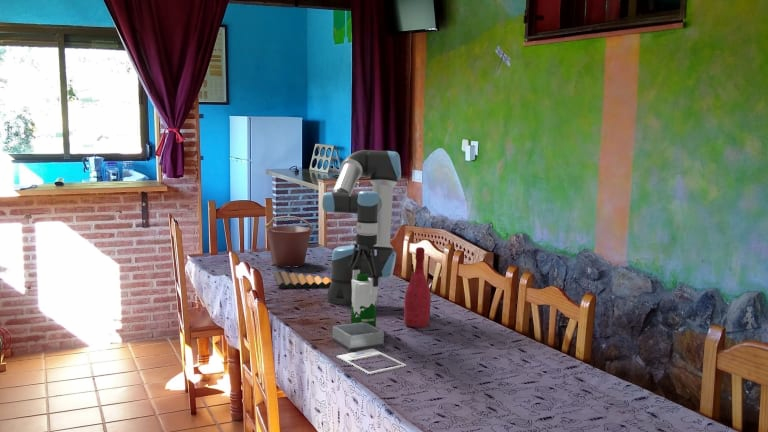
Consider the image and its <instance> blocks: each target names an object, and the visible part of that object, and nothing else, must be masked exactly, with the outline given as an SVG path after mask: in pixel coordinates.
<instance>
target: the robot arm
mask: <svg viewBox="0 0 768 432" xmlns="http://www.w3.org/2000/svg"><path fill="white" fill-rule="evenodd" d="M360 178H369V183H370V184H371V185H372V190H362V191H361V190H360V191H359V192H358V193H353V192H354V189H355V187H356V185H357V184H356V183H357V182H358V180H359V179H360ZM401 179H402V167H401V157H400V154H399V153H398V152H397V151H391V150H373V149H362V150H358V151H355V152H353V153H351V154H349V155H348V156H347V157H345V158H344V159H343V160H342V162H341V164H340V167H339V175H338V177H337V180H336V182H335V184H334V186H333V189H332V191H328V192H324V193H323V195H322V200H321V201H322V204H321V205H322V210H323V211H324V212H326V213H332V214H333V213H335V214H336V213H338V214H354V215H355V214H356V215H357V219H356V233H357V234H356V239H355V242H356V244H354V245H351V244H350V245H342V246H337V247H335V248H334V249H333V250H332V255H331V278H330V280H331V285H330V287H329V288H328V291H327V294H326V302H328V303H331V304H334V305H343V306H345V305H347V306H348V305H349V306H351V305H352V281H351V280H354V279H357V274H360V273H364V274H368V278H370V279H371V284H370V295H371V296H372V295H377V296H378V293H379V284H378V283H379V280H381V279H382V280H388V279H391V278H392V276H393V273H394V271H395V270H394V269H395V266H396V265H395V264H396V261H397V260H396V258H397V252H396V251H394V247H393V246H392V244H391V229H392V227H391V226H392V215H393V197H394V187H395V186H396V185H397V184H398V180H401Z"/></svg>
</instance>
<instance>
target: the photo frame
mask: <svg viewBox="0 0 768 432" xmlns="http://www.w3.org/2000/svg"><path fill="white" fill-rule="evenodd" d="M377 356H382V357H384V358H386V359H388V360H389V361H390V360H391V361H393V362H394V363H396V364H398V365H395V366H390V367H387V368H381V369H376V370H373V371H369V370H366V369H364V368H362V367H361V366H358V365H357V364H355V363H353V361H352V360H354V361H358V359H359V360H364V359H367V358H368V357H369V358H373V357H377ZM336 358H337V359H339V360H340V359H341V361H342V360H343V362H344V361H345V362H344V363H346V362H347V363H346V364H348V363H349V364H348V365H350V364H351V365H350V366H352V365H353V366H354V367H353V366H352V367H353V368H355V367H356V368H355V369H357V368H358V369H357V370H359V369H360V370H359V371H361V370H362V371H361V372H363V371H364V372H365V373H364V372H363V373H364V374H366V373H367V374H366V375H368V374H370V375H373V374H374V373H375V374H378V372H379V373H382V372H387V371H392V370H396V369H400V367H401V368H405V367H407V364H406V363H404V362H402V361H399V360H397V359H395V358H393V357H391V356H389V355H387V354H385V353H383V352H380V351H379V350H376V349H375V348H368V349H363V350H358V351H352V352H349V353H343V354H340V355H339V354H338V355H336ZM363 358H364V359H363ZM400 364H401V365H400ZM404 366H405V367H404Z"/></svg>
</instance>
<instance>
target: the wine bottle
mask: <svg viewBox="0 0 768 432" xmlns="http://www.w3.org/2000/svg"><path fill="white" fill-rule="evenodd" d="M414 258H415V267H414V272H413V274H412V277H411V279H410V280H409V283H408V284H407V287H406V291H405V295H404V309H403V310H404V311H403V312H404V313H403V314H404V315H403V320H404V324H405V325H406V326H407V327H411V328H417V329H418V328H419V329H420V327H422V328H426V327H427V326H429V323H430V317H431V304H432V303H431V301H432V297H431V289H430V285H429V284H428V280H427V278H426V276H425V271H424V260H425V248H424V247H422V246H421V247H418V246H417V247H416V249H415V257H414Z"/></svg>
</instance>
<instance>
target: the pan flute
mask: <svg viewBox="0 0 768 432" xmlns="http://www.w3.org/2000/svg"><path fill="white" fill-rule="evenodd" d="M273 276H274V279H275V281H276V284H277V286H278V289H281V290H285V289H286V288H287V289H289V290H290V289H291V290H292V289H302V288H303V289H309V288H311V289H325V288H326V289H329V287H330V285H331V278H329V277H327V276H325V277H324V278H322V277H321V276H319V275H316V276H315V277H314V276H313V275H311V274H308V275H307V276H305V274H303V273H300V274H296V273H295V272H292V273H290V274H289V273H288V272H287V271H284V272H281V271H279V270H277V269H276V270H275V271H274V272H273Z"/></svg>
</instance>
